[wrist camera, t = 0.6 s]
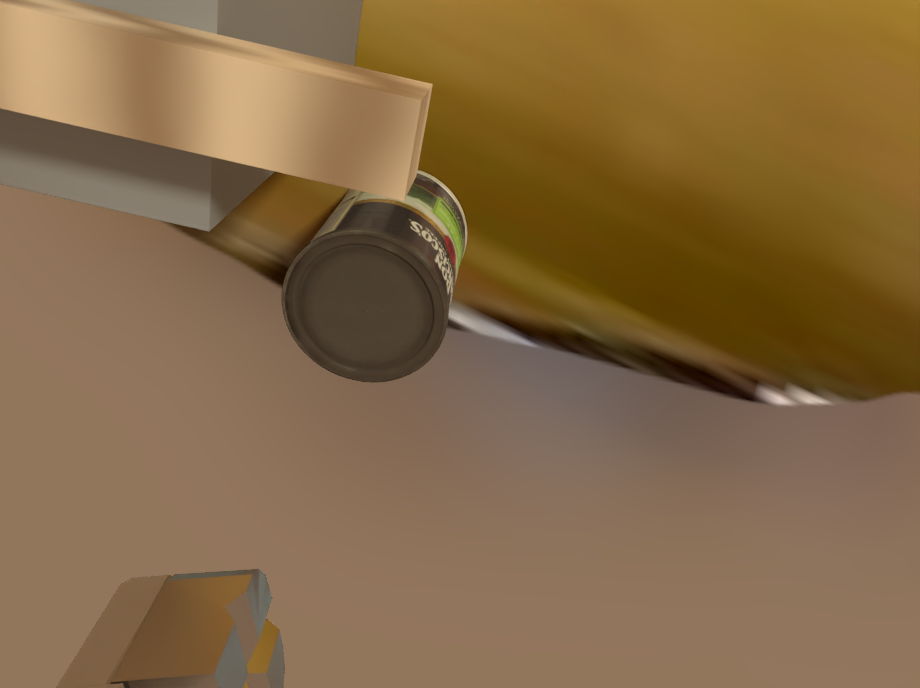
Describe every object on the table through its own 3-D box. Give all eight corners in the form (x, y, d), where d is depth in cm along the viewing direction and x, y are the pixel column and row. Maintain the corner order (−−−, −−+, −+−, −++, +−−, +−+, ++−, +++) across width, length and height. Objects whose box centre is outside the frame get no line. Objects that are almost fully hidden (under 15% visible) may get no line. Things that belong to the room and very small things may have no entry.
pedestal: (184, 66, 53) (-79, 166, 31) (188, -130, 47) (-134, -184, 25) (349, 104, 53) (209, 231, 31) (373, -86, 48) (222, -100, 25)
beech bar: (-70, 64, 29) (-131, 78, 26) (-84, -36, 27) (-152, -33, 24) (416, 176, 29) (403, 200, 26) (432, 84, 27) (421, 100, 25)
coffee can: (440, 146, 54) (411, 209, 42) (485, 271, 59) (470, 361, 46) (314, 188, 57) (251, 259, 45) (366, 305, 61) (322, 399, 49)
